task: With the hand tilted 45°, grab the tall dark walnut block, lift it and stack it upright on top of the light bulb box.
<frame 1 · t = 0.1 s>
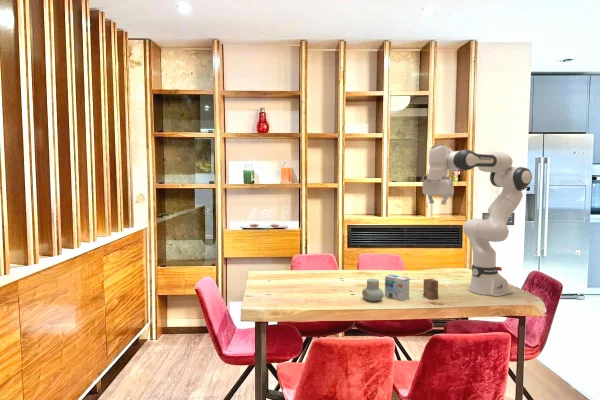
hand: (437, 204, 190), 48 cm above the table, tool pointing down, fingers open, 8 cm apart
walnut block: (430, 297, 191), on the table
air freshener: (372, 300, 188), on the table
light bulb box: (396, 297, 192), on the table
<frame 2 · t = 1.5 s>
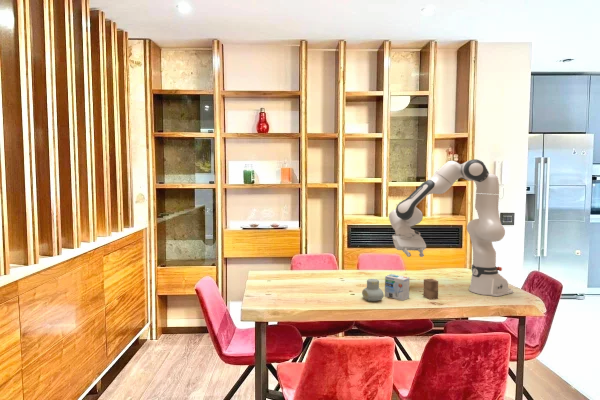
hand: (415, 256, 200), 19 cm above the table, tool tilted 45°, fingers open, 8 cm apart
nothing on the table moved.
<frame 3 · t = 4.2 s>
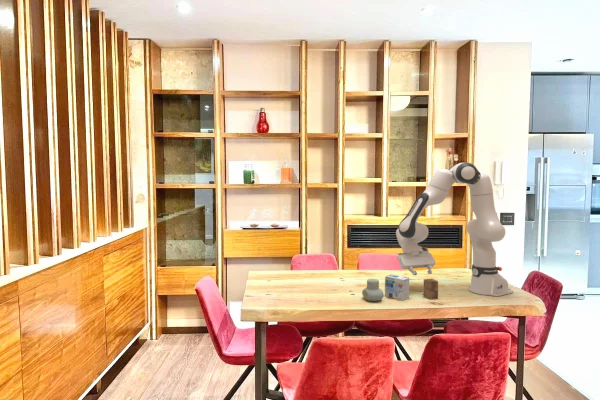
hand: (423, 274, 197), 11 cm above the table, tool tilted 45°, fingers open, 8 cm apart
nothing on the table moved.
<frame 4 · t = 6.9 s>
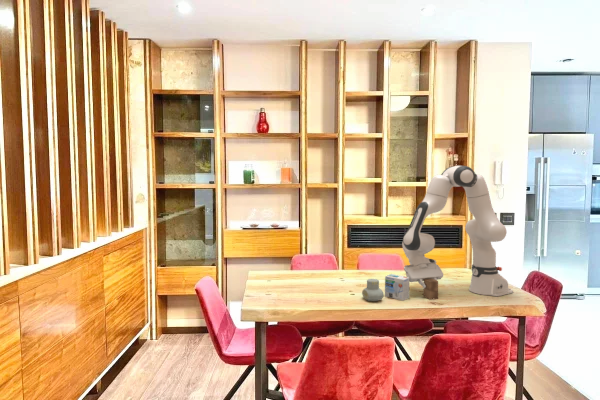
hand: (430, 287, 191), 5 cm above the table, tool tilted 45°, fingers closed on walnut block, 5 cm apart
walnut block: (430, 297, 191), on the table, touching gripper
everything else where it was.
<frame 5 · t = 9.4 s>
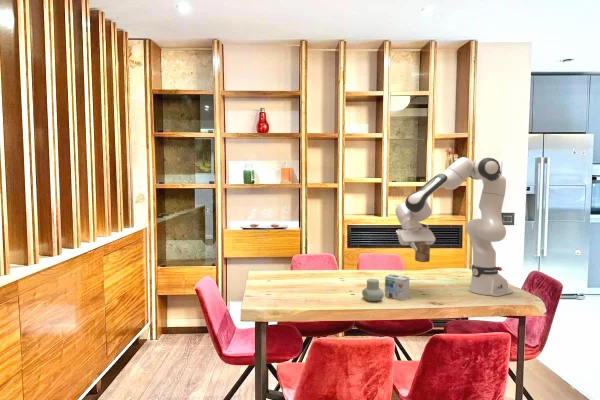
hand: (422, 250, 190), 24 cm above the table, tool tilted 45°, fingers closed on walnut block, 5 cm apart
walnut block: (422, 261, 191), point 19 cm above the table, touching gripper
everything else where it was.
when the fingers open (18 cm above the table, at t = 11.9 s): walnut block drops 2 cm, resting on light bulb box.
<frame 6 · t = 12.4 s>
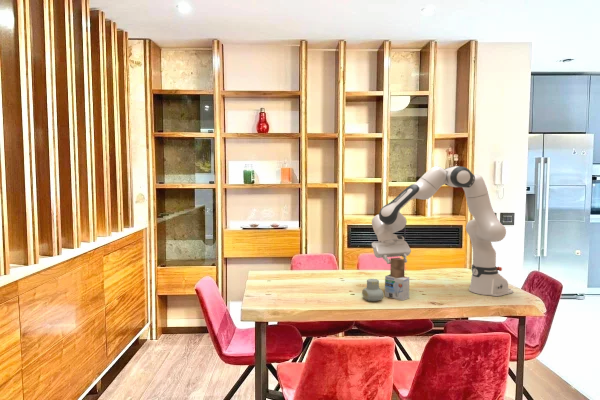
hand: (397, 262, 191), 18 cm above the table, tool tilted 45°, fingers open, 8 cm apart
walnut block: (397, 276, 191), point 11 cm above the table, touching light bulb box
light bulb box: (396, 297, 192), on the table, touching walnut block
everything else where it was.
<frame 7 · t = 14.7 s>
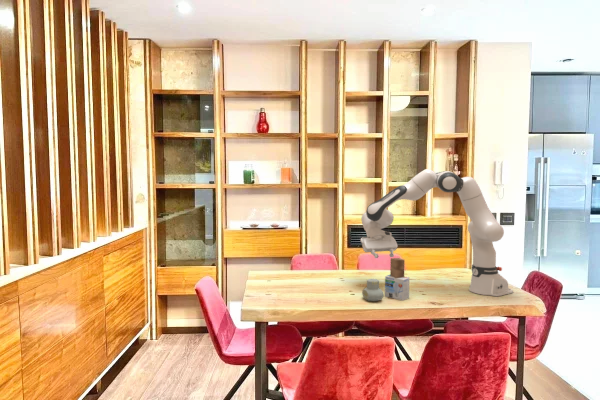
hand: (384, 257, 203), 18 cm above the table, tool tilted 45°, fingers open, 8 cm apart
nothing on the table moved.
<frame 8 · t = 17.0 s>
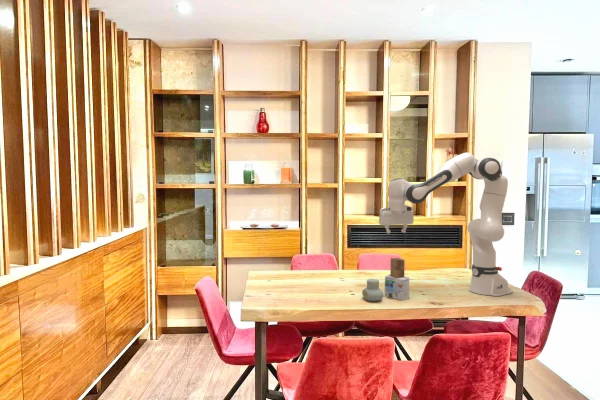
hand: (396, 232, 206), 31 cm above the table, tool pointing down, fingers open, 8 cm apart
nothing on the table moved.
at the end: walnut block inside the target area on the light bulb box (0.1 cm from its centre), point 11.0 cm above the light bulb box's base; walnut block tilted 0°; the gripper is holding nothing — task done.
